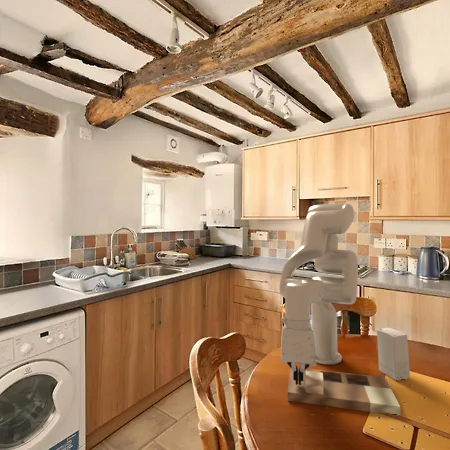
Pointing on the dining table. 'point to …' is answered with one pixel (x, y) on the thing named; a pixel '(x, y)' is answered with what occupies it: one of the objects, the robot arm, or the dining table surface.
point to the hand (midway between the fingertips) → (298, 382)
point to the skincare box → (393, 353)
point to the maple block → (314, 382)
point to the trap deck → (347, 392)
